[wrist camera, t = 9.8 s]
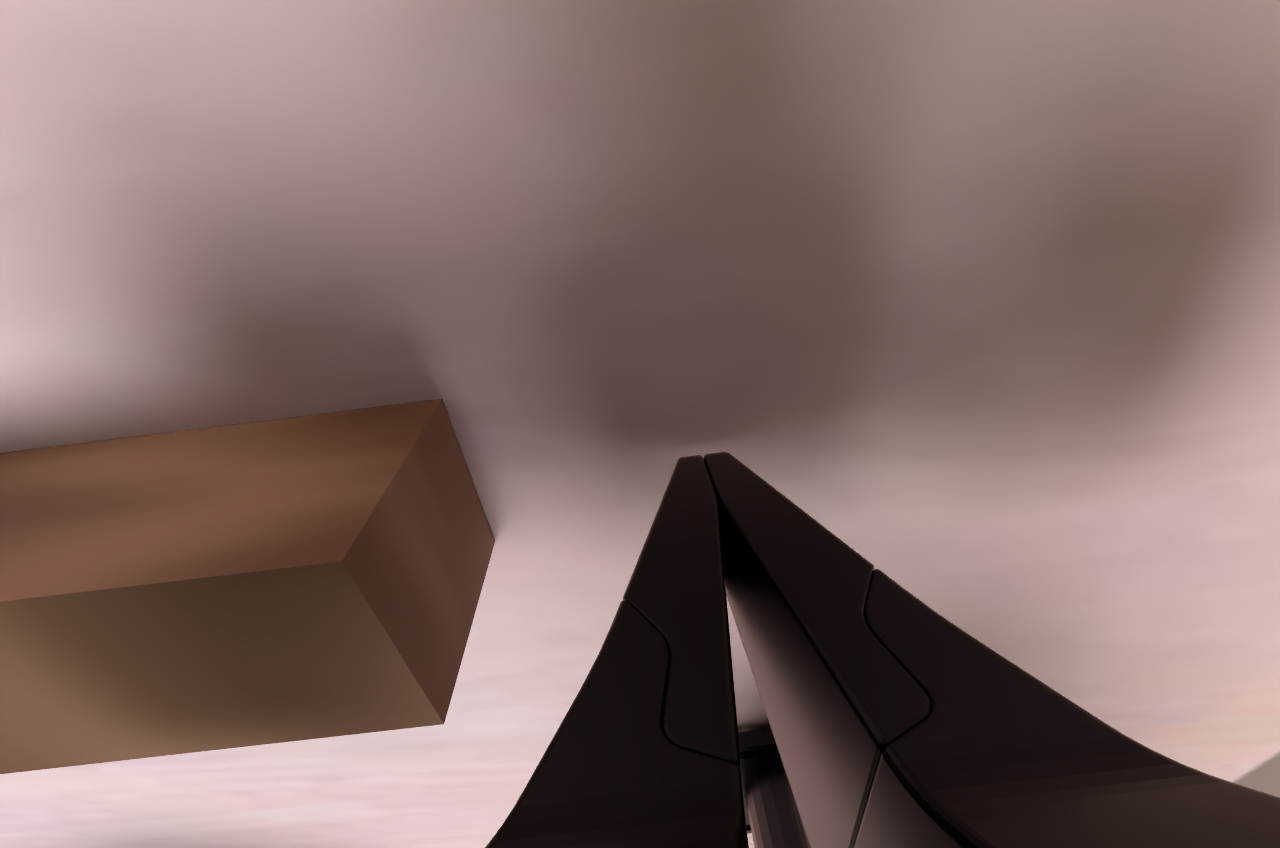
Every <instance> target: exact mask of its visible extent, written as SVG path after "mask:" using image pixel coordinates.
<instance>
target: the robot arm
mask: <svg viewBox="0 0 1280 848" xmlns="http://www.w3.org/2000/svg"><path fill="white" fill-rule="evenodd" d="M726 595H727V598H728V601H729V604H730V607H731V610H732V613H733V616H734V619H735V622H736V625H737V628H738V631H739V634H740V637H741V640H742V643H743V646H744V649H745V652H746V655H747V658H748V661H749V664H750V667H751V670H752V673H753V676H754V679H755V682H756V685H757V687H758V690H759V693H760V696H761V699H762V702H763V705H764V708H765V711H766V714H767V717H768V720H769V723H770V726H771V729H768V730H759V731H751V732H743V733H738V727H737V716H736V704H735V692H734V681H733V669H732V658H731V646H730V634H729V623H728V611H727V599H726ZM747 833H752V836H753V841H754V846H755V848H1280V798H1279V797H1276V796H1273V795H1270V794H1267V793H1264V792H1260V791H1257V790H1254V789H1251V788H1248V787H1244V786H1241V785H1238V784H1235V783H1232V782H1229V781H1226V780H1223V779H1220V778H1217V777H1214V776H1211V775H1208V774H1205V773H1203V772H1200V771H1198V770H1195V769H1193V768H1190V767H1188V766H1186V765H1183V764H1181V763H1179V762H1176V761H1174V760H1172V759H1170V758H1168V757H1166V756H1164V755H1162V754H1159V753H1157V752H1155V751H1153V750H1151V749H1149V748H1148V747H1146V746H1144V745H1142V744H1140V743H1138V742H1136V741H1135V740H1133V739H1131V738H1129V737H1127V736H1125V735H1124V734H1122V733H1121V732H1119V731H1117V730H1116V729H1114V728H1112V727H1111V726H1109V725H1107V724H1106V723H1104V722H1103V721H1101V720H1099V719H1098V718H1096V717H1095V716H1093V715H1092V714H1090V713H1089V712H1087V711H1086V710H1084V709H1082V708H1081V707H1079V706H1078V705H1076V704H1075V703H1073V702H1072V701H1070V700H1069V699H1067V698H1065V697H1064V696H1062V695H1061V694H1059V693H1058V692H1056V691H1055V690H1053V689H1052V688H1050V687H1049V686H1047V685H1045V684H1044V683H1042V682H1041V681H1039V680H1038V679H1036V678H1035V677H1033V676H1032V675H1030V674H1028V673H1027V672H1025V671H1024V670H1022V669H1021V668H1019V667H1018V666H1016V665H1015V664H1013V663H1012V662H1010V661H1008V660H1007V659H1005V658H1004V657H1002V656H1001V655H999V654H998V653H996V652H995V651H993V650H992V649H990V648H988V647H987V646H985V645H984V644H982V643H981V642H979V641H978V640H976V639H975V638H973V637H972V636H970V635H969V634H967V633H966V632H964V631H963V630H961V629H960V628H959V627H957V626H956V625H954V624H953V623H951V622H950V621H948V620H947V619H945V618H944V617H942V616H941V615H939V614H938V613H936V612H935V611H934V610H932V609H931V608H930V607H928V606H927V605H925V604H924V603H923V602H921V601H920V600H919V599H917V598H916V597H915V596H913V595H912V594H911V593H909V592H908V591H907V590H905V589H904V588H902V587H901V586H900V585H898V584H897V583H896V582H895V581H893V580H892V579H891V578H889V577H888V576H887V575H886V574H884V573H883V572H882V571H880V570H879V569H875V570H874V566H873V565H872V564H871V563H870V562H869V561H867V560H866V559H865V558H863V557H862V556H861V555H860V554H858V553H857V552H856V551H854V550H853V549H852V548H850V547H849V546H848V545H847V544H845V543H844V542H843V541H841V540H840V539H839V538H838V537H836V536H835V535H834V534H832V533H831V532H830V531H829V530H827V529H826V528H825V527H823V526H822V525H821V524H820V523H818V522H817V521H816V520H814V519H813V518H812V517H811V516H809V515H808V514H807V513H805V512H804V511H803V510H802V509H800V508H799V507H798V506H796V505H795V504H794V503H793V502H791V501H790V500H789V499H787V498H786V497H785V496H784V495H782V494H781V493H780V492H778V491H777V490H776V489H775V488H773V487H772V486H771V485H769V484H768V483H767V482H766V481H764V480H763V479H762V478H760V477H759V476H758V475H757V474H755V473H754V472H753V471H751V470H750V469H749V468H747V467H746V466H745V465H744V464H742V463H741V462H740V461H738V460H737V459H736V458H735V457H733V456H732V455H731V454H729V453H727V452H720V453H712V454H706V455H705V456H704V458H703V457H702V456H700V455H697V456H689V457H682V458H679V460H678V461H677V464H676V466H675V469H674V471H673V474H672V476H671V479H670V481H669V484H668V486H667V489H666V491H665V494H664V496H663V499H662V501H661V504H660V506H659V509H658V511H657V514H656V516H655V519H654V521H653V524H652V526H651V529H650V531H649V534H648V536H647V539H646V541H645V544H644V546H643V549H642V551H641V554H640V556H639V559H638V561H637V564H636V566H635V569H634V571H633V574H632V576H631V579H630V581H629V584H628V586H627V589H626V591H625V594H624V596H623V601H621V603H620V606H619V608H618V611H617V613H616V616H615V618H614V621H613V623H612V625H611V628H610V630H609V632H608V634H607V637H606V639H605V641H604V643H603V646H602V648H601V650H600V652H599V655H598V657H597V658H596V660H595V662H594V664H593V666H592V668H591V670H590V672H589V674H588V676H587V678H586V680H585V681H584V683H583V685H582V687H581V689H580V691H579V693H578V695H577V696H576V698H575V700H574V702H573V704H572V705H571V707H570V709H569V711H568V712H567V714H566V716H565V718H564V720H563V721H562V723H561V725H560V727H559V728H558V730H557V732H556V734H555V736H554V737H553V739H552V741H551V743H550V745H549V746H548V748H547V750H546V752H545V753H544V755H543V757H542V759H541V761H540V762H539V764H538V766H537V768H536V770H535V771H534V773H533V775H532V777H531V778H530V780H529V782H528V784H527V786H526V787H525V789H524V791H523V793H522V794H521V796H520V798H519V799H518V801H517V803H516V804H515V806H514V808H513V809H512V811H511V812H510V814H509V816H508V817H507V819H506V820H505V822H504V823H503V825H502V826H501V828H500V829H499V830H498V832H497V833H496V834H495V836H494V837H493V838H492V840H491V841H490V842H489V844H488V845H487V846H486V847H485V848H749V847H748V838H747Z"/></svg>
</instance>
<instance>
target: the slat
mask: <svg viewBox="0 0 1280 848" xmlns="http://www.w3.org/2000/svg"><path fill="white" fill-rule="evenodd" d="M494 543H495V539H494V536H493V534H492V531H491V528H490V526H489V523H488V520H487V518H486V515H485V512H484V510H483V507H482V504H481V502H480V499H479V496H478V494H477V491H476V488H475V486H474V483H473V480H472V478H471V475H470V472H469V470H468V467H467V464H466V462H465V459H464V456H463V454H462V451H461V448H460V446H459V443H458V440H457V437H456V435H455V432H454V429H453V427H452V424H451V421H450V419H449V416H448V413H447V411H446V408H445V405H444V403H443V400H442V399H438V400H430V401H421V402H413V403H405V404H397V405H389V406H381V407H373V408H365V409H356V410H348V411H340V412H332V413H324V414H316V415H308V416H299V417H291V418H283V419H275V420H267V421H259V422H251V423H243V424H234V425H226V426H218V427H210V428H202V429H194V430H186V431H177V432H169V433H161V434H153V435H145V436H137V437H129V438H121V439H112V440H104V441H96V442H88V443H80V444H72V445H64V446H56V447H47V448H39V449H31V450H23V451H15V452H7V453H0V774H5V773H14V772H23V771H32V770H40V769H49V768H58V767H67V766H76V765H85V764H94V763H103V762H111V761H120V760H129V759H138V758H147V757H156V756H165V755H174V754H182V753H191V752H200V751H209V750H218V749H227V748H236V747H245V746H253V745H262V744H271V743H280V742H289V741H298V740H307V739H316V738H324V737H333V736H342V735H351V734H360V733H369V732H378V731H387V730H395V729H404V728H413V727H422V726H431V725H440V724H444V722H445V718H446V715H447V711H448V708H449V704H450V700H451V697H452V693H453V690H454V686H455V683H456V679H457V675H458V672H459V668H460V665H461V661H462V657H463V654H464V650H465V647H466V643H467V640H468V636H469V632H470V629H471V625H472V622H473V618H474V614H475V611H476V607H477V604H478V600H479V597H480V593H481V589H482V586H483V582H484V579H485V575H486V571H487V568H488V564H489V561H490V557H491V554H492V550H493V546H494Z"/></svg>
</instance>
